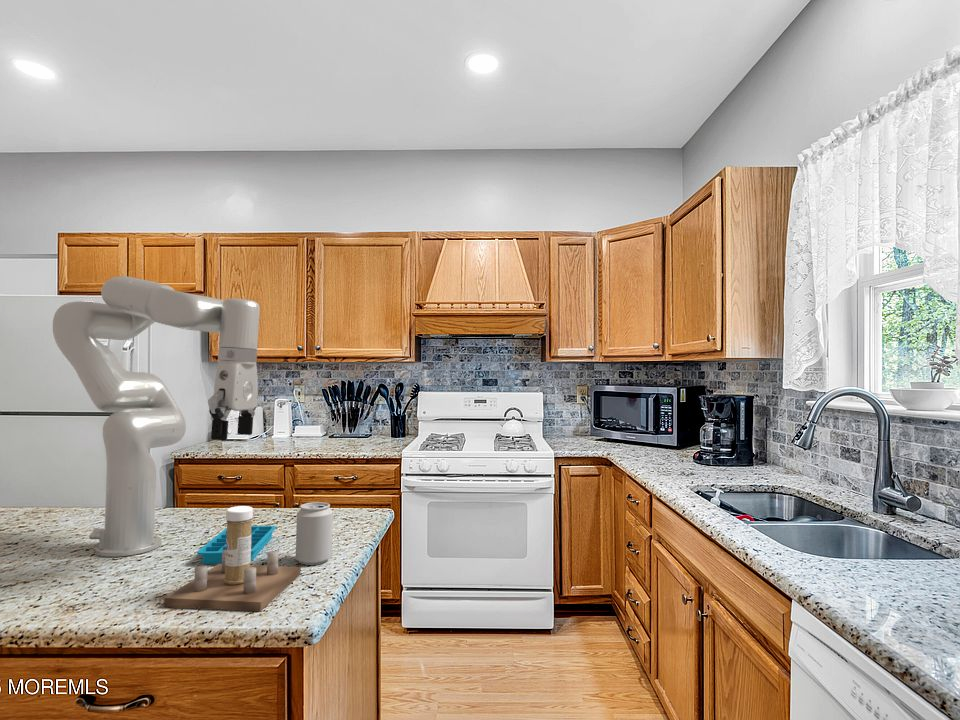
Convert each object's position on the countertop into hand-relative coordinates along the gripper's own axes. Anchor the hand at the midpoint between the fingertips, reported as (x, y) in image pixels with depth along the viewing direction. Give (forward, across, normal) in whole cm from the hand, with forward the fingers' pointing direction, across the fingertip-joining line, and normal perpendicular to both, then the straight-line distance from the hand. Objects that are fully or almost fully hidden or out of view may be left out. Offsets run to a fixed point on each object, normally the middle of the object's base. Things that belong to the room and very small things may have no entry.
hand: (232, 437), depth 115 cm
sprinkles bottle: (+25, -13, -10) cm, 30 cm away
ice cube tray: (+27, +8, +1) cm, 29 cm away
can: (+26, +4, -18) cm, 32 cm away
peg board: (+26, -13, -11) cm, 31 cm away
